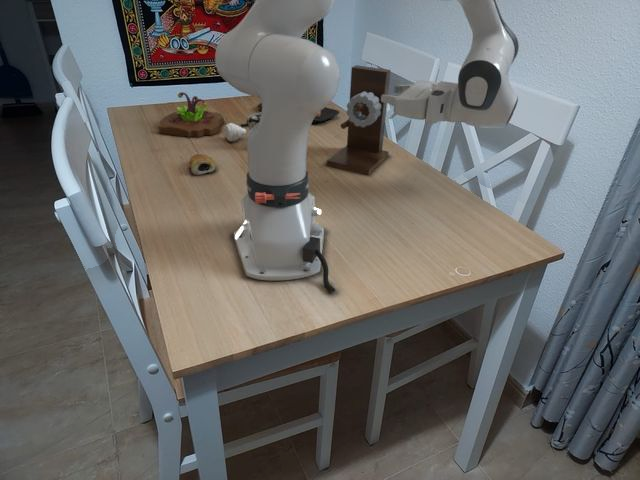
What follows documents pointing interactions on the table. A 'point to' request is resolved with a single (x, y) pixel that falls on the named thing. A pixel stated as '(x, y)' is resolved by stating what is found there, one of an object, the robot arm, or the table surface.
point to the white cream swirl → (233, 132)
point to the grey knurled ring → (371, 104)
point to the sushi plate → (320, 116)
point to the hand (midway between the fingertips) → (388, 92)
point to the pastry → (201, 164)
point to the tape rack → (367, 140)
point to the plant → (191, 120)
